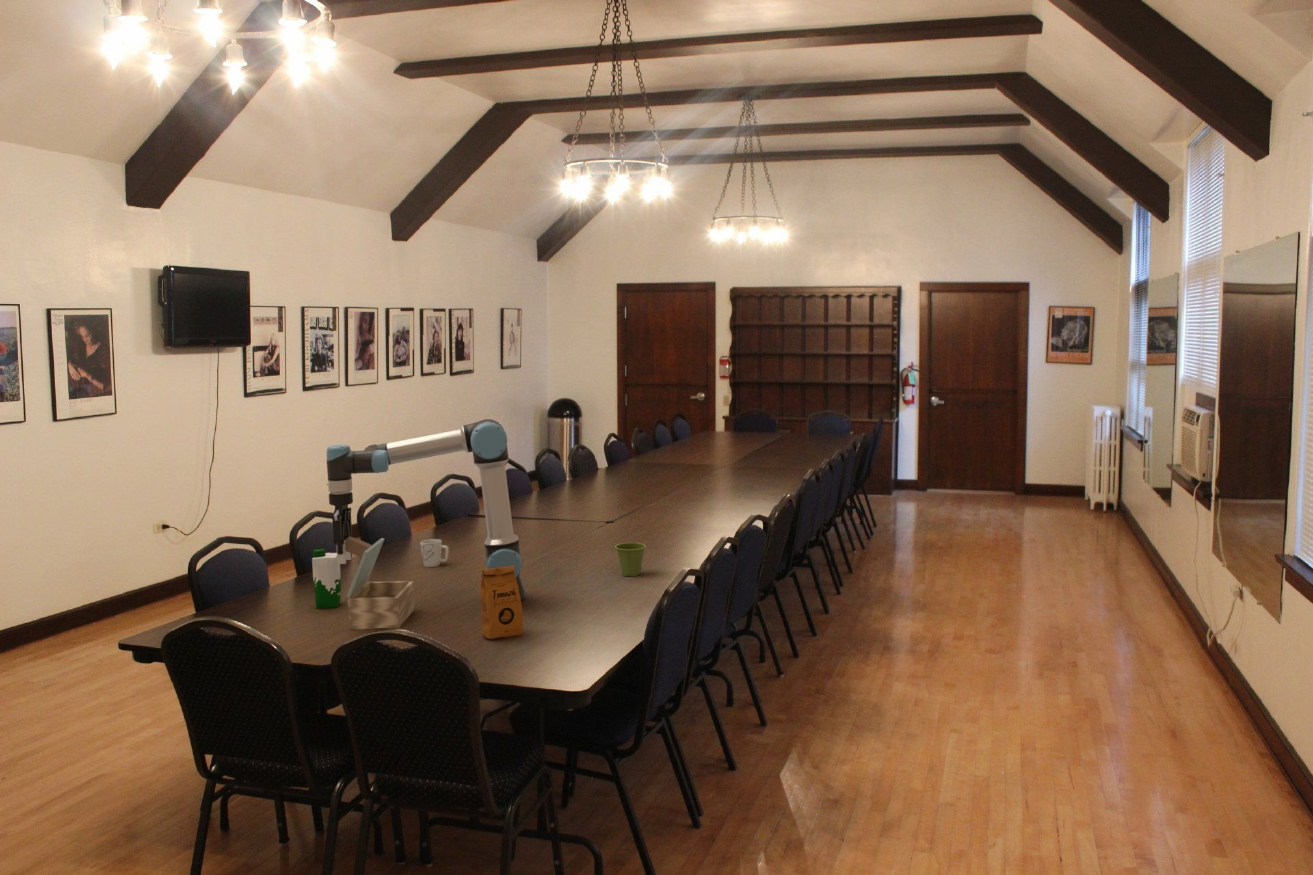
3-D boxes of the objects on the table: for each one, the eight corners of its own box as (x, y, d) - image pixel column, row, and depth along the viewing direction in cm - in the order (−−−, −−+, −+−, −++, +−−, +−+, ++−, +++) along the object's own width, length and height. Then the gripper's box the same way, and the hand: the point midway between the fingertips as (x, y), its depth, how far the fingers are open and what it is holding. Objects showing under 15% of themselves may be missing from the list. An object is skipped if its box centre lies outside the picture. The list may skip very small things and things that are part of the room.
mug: (452, 562, 428) (451, 538, 427) (446, 567, 419) (445, 543, 418) (425, 562, 429) (424, 538, 428) (418, 567, 421) (417, 543, 419)
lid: (384, 538, 356) (358, 528, 356) (367, 552, 335) (339, 541, 335) (367, 581, 358) (341, 570, 358) (349, 597, 337) (321, 586, 337)
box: (414, 609, 360) (413, 581, 358) (398, 628, 338) (397, 598, 337) (368, 610, 360) (366, 581, 359) (349, 629, 338) (347, 599, 337)
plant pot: (610, 576, 400) (609, 547, 399) (625, 569, 410) (624, 541, 409) (637, 579, 395) (636, 550, 393) (651, 572, 405) (651, 544, 404)
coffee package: (526, 637, 326) (523, 568, 323) (486, 642, 321) (484, 572, 318) (517, 628, 335) (515, 561, 332) (479, 634, 330) (476, 565, 327)
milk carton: (317, 603, 370) (313, 547, 368) (343, 601, 372) (340, 546, 370) (313, 609, 362) (309, 553, 360) (340, 608, 363) (337, 551, 361)
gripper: (337, 487, 353) (341, 555, 355) (320, 497, 335) (324, 568, 338) (359, 487, 353) (363, 555, 355) (343, 496, 335) (347, 567, 338)
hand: (344, 561), depth 347 cm, fingers open, 5 cm apart
